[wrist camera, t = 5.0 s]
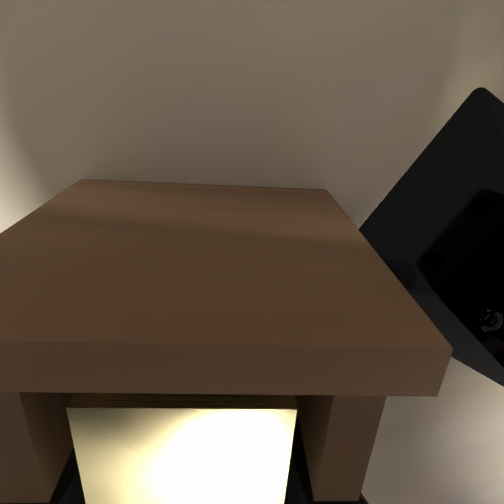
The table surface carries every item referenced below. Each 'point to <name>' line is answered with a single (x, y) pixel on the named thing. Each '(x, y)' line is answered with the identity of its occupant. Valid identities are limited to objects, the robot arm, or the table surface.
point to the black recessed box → (453, 233)
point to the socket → (203, 319)
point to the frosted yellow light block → (182, 447)
